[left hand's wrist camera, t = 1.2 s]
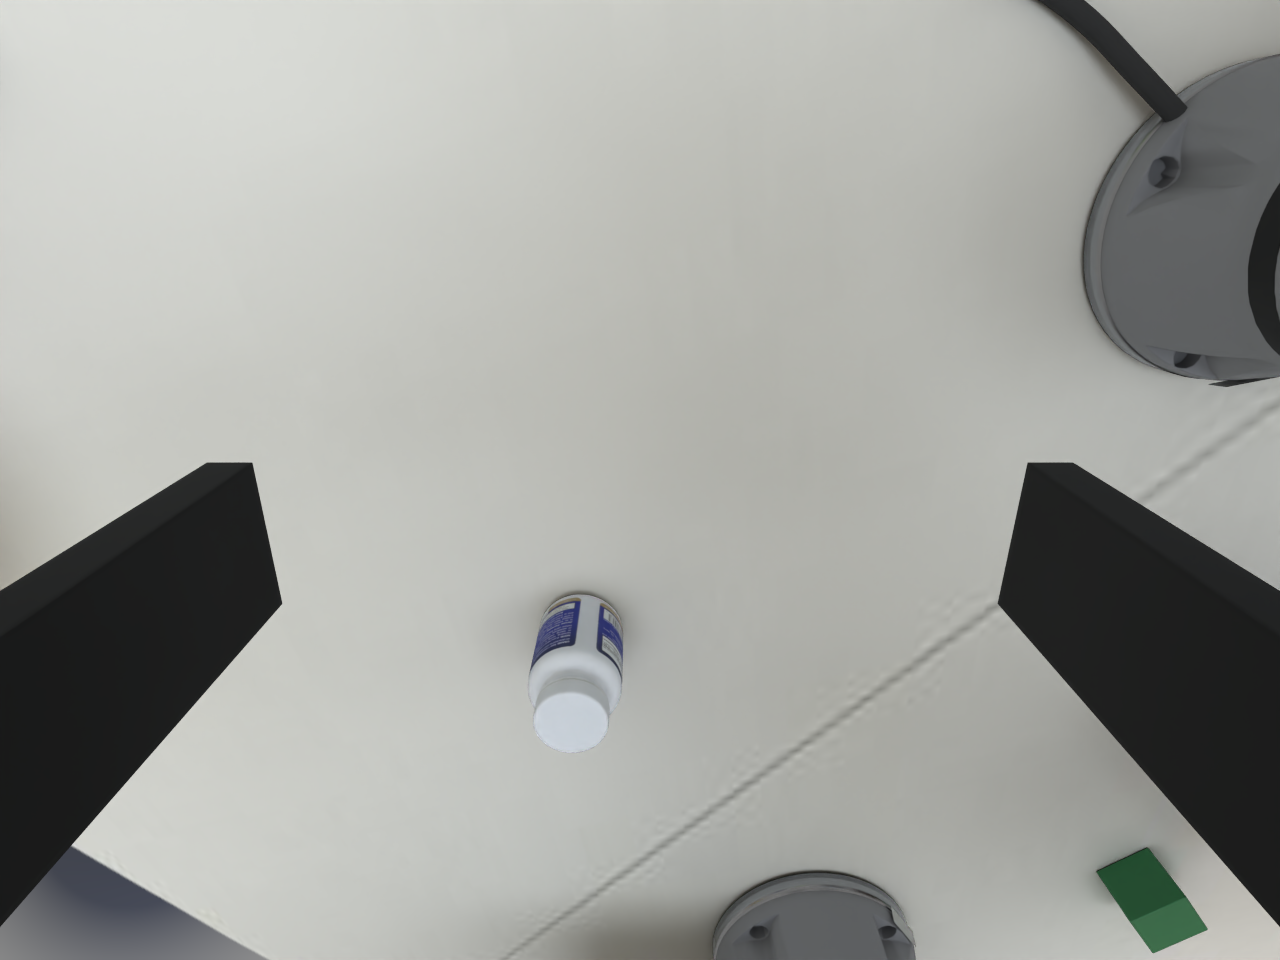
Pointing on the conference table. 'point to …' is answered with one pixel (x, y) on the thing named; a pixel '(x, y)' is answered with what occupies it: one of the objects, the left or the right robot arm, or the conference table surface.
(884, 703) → the conference table surface
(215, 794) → the conference table surface
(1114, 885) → the block
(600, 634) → the pill bottle
